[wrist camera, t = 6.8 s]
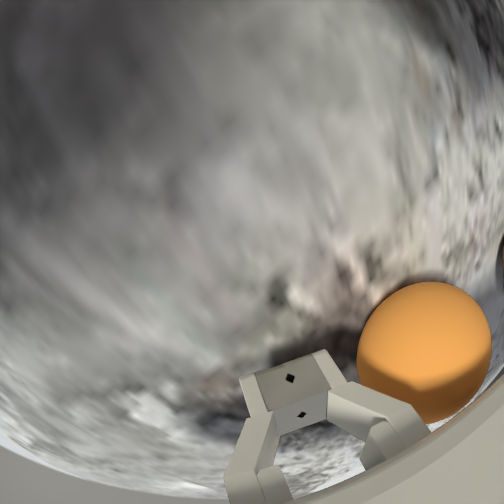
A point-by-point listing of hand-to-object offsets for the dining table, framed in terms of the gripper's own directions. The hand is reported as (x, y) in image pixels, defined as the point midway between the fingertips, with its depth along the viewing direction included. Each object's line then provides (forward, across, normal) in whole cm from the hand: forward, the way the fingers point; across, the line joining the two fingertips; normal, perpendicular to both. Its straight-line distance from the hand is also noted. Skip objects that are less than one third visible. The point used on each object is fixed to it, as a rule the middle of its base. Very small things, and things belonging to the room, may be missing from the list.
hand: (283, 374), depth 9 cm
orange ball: (-1, -5, +1) cm, 6 cm away
